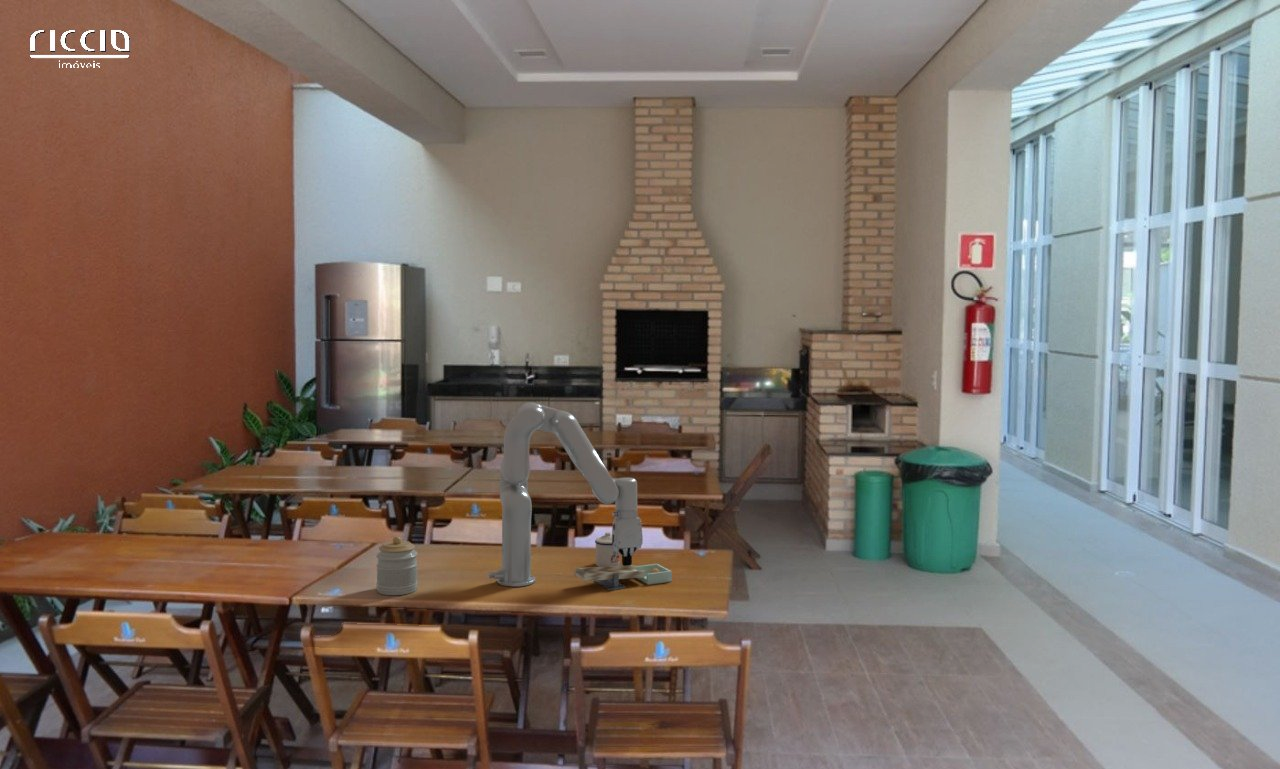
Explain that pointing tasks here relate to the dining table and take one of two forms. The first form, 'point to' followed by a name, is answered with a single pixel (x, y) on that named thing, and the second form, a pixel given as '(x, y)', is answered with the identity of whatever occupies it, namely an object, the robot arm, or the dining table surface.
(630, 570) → the lever
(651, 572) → the ball
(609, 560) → the teacup with lid
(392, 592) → the jar
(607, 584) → the fulcrum
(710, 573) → the dining table surface
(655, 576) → the tray
